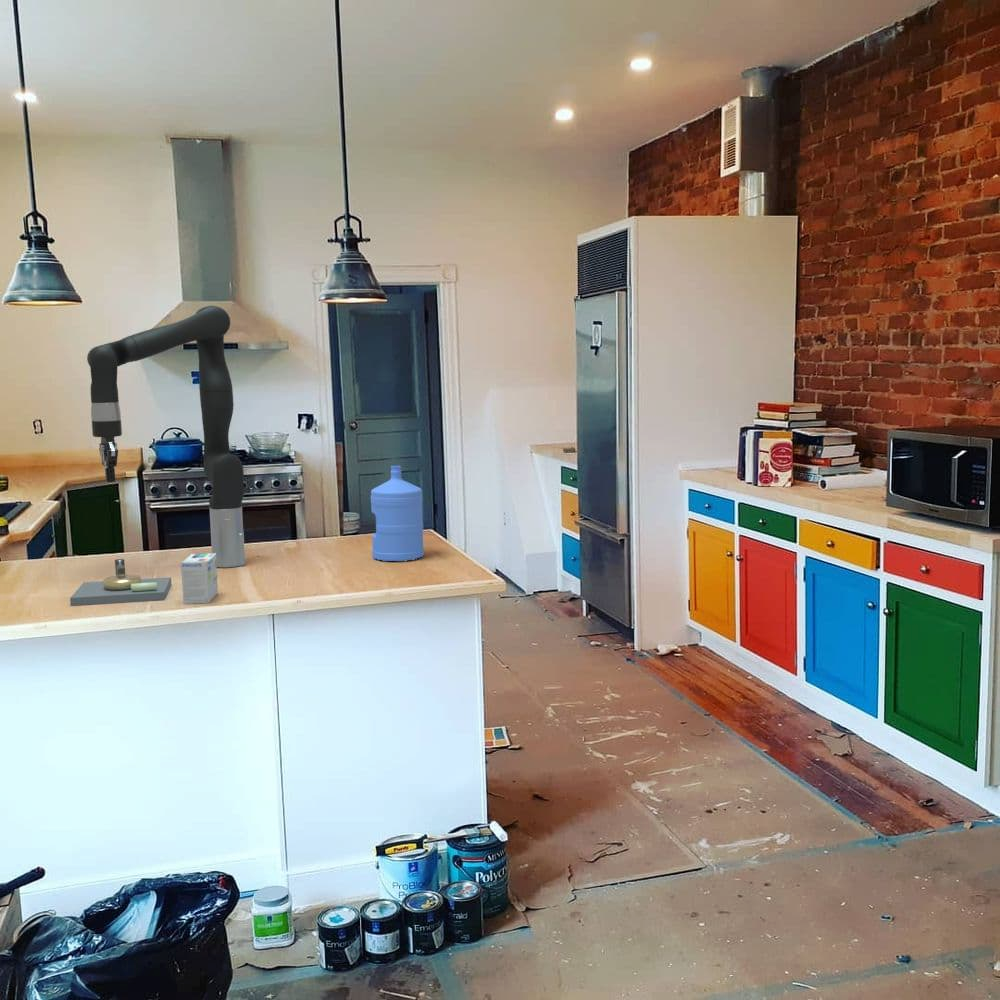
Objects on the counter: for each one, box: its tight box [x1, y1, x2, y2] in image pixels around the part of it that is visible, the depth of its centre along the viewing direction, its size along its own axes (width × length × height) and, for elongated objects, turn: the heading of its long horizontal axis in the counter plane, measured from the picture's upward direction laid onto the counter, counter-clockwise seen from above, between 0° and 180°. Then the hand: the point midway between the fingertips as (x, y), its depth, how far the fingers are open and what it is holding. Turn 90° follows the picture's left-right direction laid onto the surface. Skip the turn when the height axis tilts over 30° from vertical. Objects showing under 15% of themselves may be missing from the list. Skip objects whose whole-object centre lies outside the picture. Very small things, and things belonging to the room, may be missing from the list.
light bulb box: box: [180, 552, 219, 605], centre depth 244 cm, size 11×7×11 cm, turn 5°
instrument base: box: [69, 576, 172, 607], centre depth 250 cm, size 22×18×4 cm
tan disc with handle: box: [103, 558, 142, 590], centre depth 253 cm, size 18×9×5 cm, turn 24°
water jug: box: [370, 465, 425, 562], centre depth 293 cm, size 16×16×28 cm
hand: (110, 481), depth 268 cm, fingers closed
